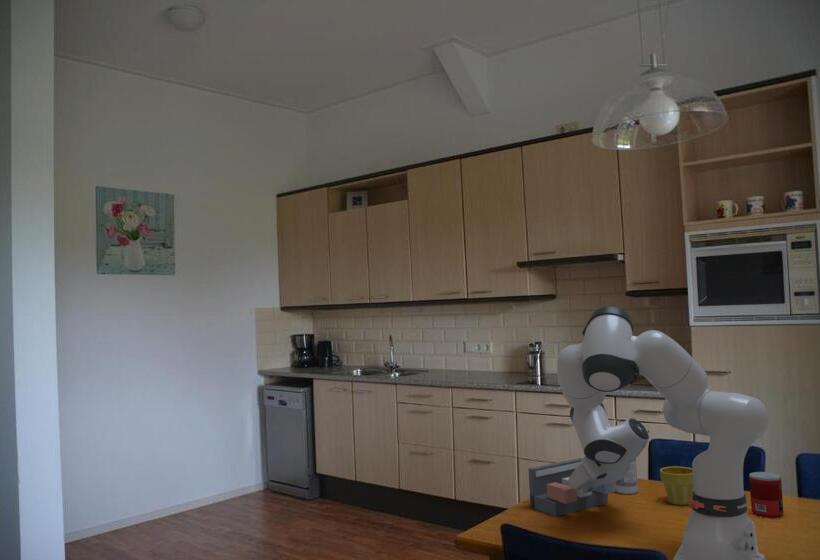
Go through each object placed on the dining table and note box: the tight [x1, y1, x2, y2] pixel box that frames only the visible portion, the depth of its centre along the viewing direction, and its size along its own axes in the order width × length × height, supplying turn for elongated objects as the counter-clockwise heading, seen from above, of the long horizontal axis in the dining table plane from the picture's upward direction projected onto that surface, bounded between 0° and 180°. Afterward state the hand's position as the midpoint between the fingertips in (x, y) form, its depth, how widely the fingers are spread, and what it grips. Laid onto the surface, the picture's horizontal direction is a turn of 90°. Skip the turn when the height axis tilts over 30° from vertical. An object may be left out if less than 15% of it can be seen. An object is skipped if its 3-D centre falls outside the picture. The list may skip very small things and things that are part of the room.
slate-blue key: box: [593, 482, 616, 494], centre depth 203 cm, size 8×5×4 cm, turn 31°
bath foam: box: [615, 458, 639, 495], centre depth 215 cm, size 7×7×20 cm
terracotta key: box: [547, 482, 577, 504], centre depth 195 cm, size 8×5×4 cm, turn 31°
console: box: [528, 457, 609, 518], centre depth 203 cm, size 11×22×12 cm, turn 121°
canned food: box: [748, 471, 784, 519], centre depth 187 cm, size 8×8×11 cm
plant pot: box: [659, 465, 694, 506], centre depth 201 cm, size 10×10×10 cm
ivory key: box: [562, 477, 592, 497], centre depth 200 cm, size 8×5×4 cm, turn 31°
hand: (586, 490), depth 196 cm, fingers closed, pressing on ivory key
